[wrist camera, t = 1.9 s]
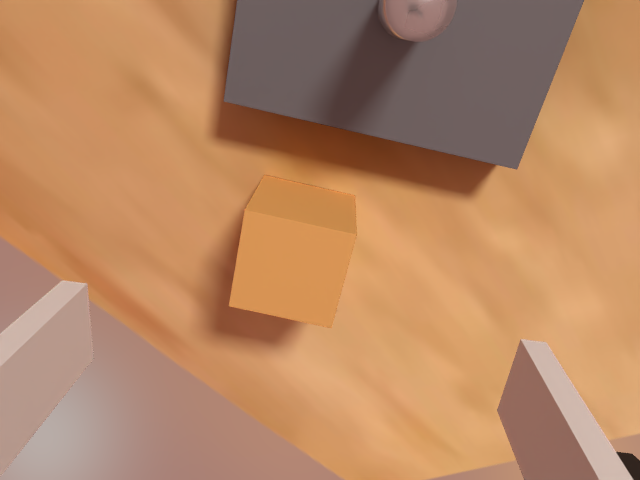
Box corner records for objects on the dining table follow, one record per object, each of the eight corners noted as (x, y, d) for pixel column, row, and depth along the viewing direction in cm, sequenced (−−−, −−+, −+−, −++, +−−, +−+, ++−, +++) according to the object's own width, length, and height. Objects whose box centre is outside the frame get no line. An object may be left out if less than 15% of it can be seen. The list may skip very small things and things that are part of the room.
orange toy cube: (249, 256, 36) (228, 306, 30) (264, 174, 33) (244, 209, 27) (334, 275, 36) (331, 328, 30) (354, 195, 34) (356, 234, 27)
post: (371, 31, 27) (377, 32, 21) (386, -29, 26) (396, -45, 20) (424, 44, 27) (444, 49, 21) (441, -16, 26) (466, -27, 20)
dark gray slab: (234, 94, 31) (223, 101, 29) (272, -173, 26) (263, -196, 23) (502, 157, 32) (516, 169, 29) (596, -90, 27) (624, -103, 24)
